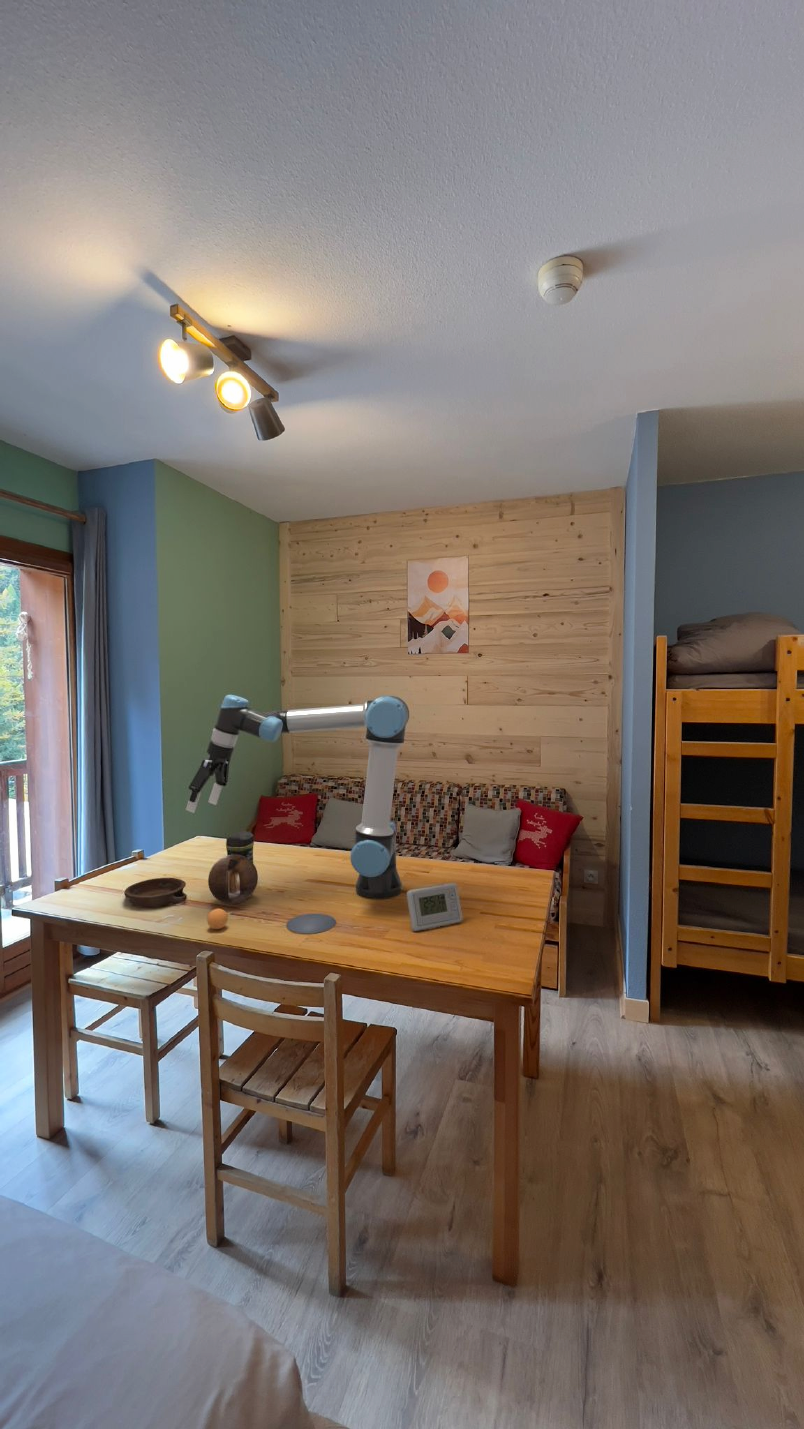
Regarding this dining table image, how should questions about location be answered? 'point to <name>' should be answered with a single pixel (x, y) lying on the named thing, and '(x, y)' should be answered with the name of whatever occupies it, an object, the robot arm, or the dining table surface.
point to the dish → (156, 892)
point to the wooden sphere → (233, 879)
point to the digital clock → (434, 906)
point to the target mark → (311, 923)
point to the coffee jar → (241, 844)
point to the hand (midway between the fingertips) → (201, 807)
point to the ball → (217, 919)
